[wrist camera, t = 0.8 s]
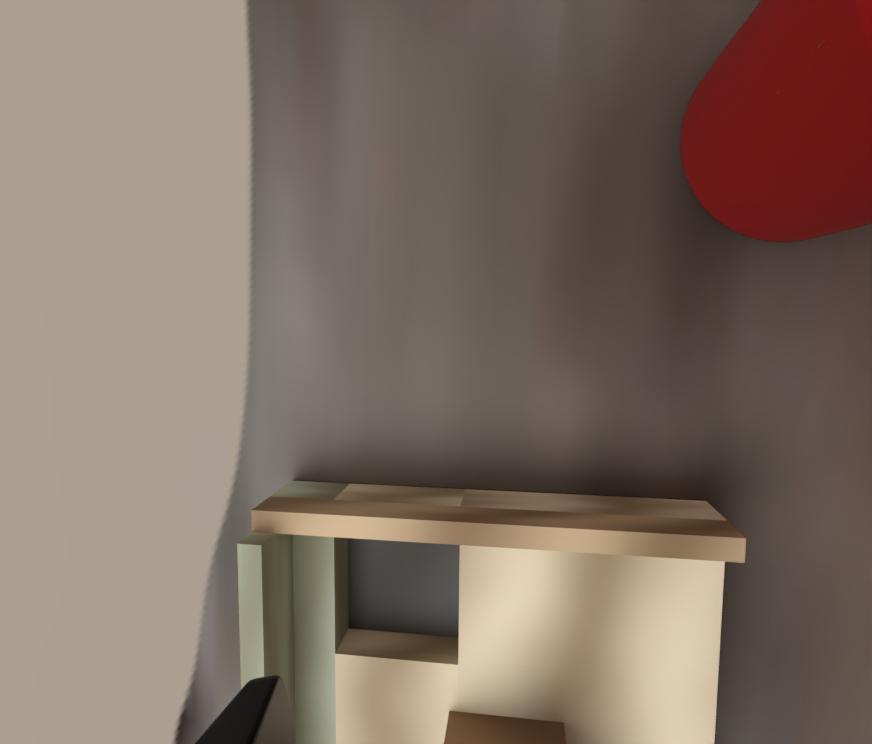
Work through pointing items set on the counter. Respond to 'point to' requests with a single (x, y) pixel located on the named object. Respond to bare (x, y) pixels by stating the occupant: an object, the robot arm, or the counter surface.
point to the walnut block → (501, 730)
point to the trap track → (485, 611)
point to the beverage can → (787, 123)
